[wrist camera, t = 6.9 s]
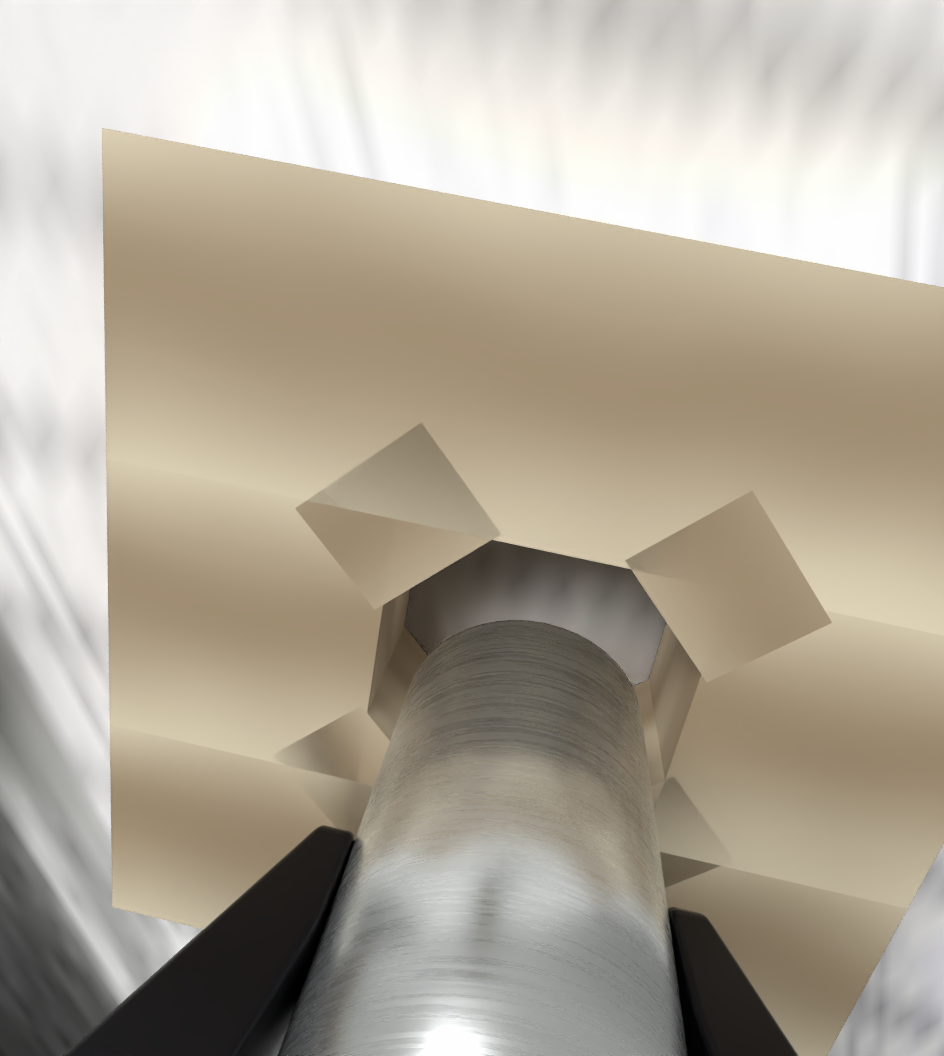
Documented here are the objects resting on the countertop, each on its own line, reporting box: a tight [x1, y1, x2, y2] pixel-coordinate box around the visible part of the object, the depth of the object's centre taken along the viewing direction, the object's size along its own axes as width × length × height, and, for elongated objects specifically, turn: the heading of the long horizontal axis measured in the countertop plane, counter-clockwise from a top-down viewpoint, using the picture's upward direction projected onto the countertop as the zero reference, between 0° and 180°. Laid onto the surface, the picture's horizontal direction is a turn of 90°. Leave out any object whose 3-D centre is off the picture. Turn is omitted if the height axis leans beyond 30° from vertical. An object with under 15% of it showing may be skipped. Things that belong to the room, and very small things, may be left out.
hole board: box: [102, 128, 944, 1056], centre depth 14 cm, size 14×14×3 cm
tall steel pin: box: [278, 620, 688, 1056], centre depth 8 cm, size 4×4×8 cm
